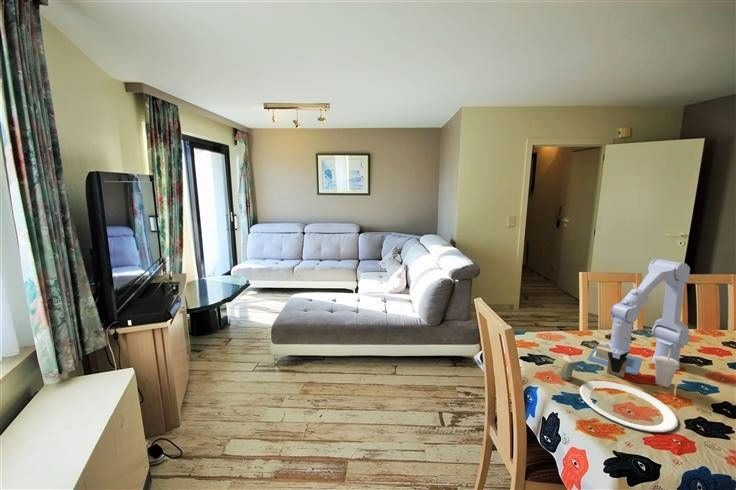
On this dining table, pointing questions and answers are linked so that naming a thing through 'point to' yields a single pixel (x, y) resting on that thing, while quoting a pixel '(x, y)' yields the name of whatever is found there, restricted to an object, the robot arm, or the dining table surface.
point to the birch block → (603, 351)
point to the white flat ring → (669, 417)
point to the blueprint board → (631, 365)
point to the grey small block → (565, 368)
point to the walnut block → (622, 370)
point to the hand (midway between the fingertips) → (616, 368)
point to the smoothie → (665, 369)
